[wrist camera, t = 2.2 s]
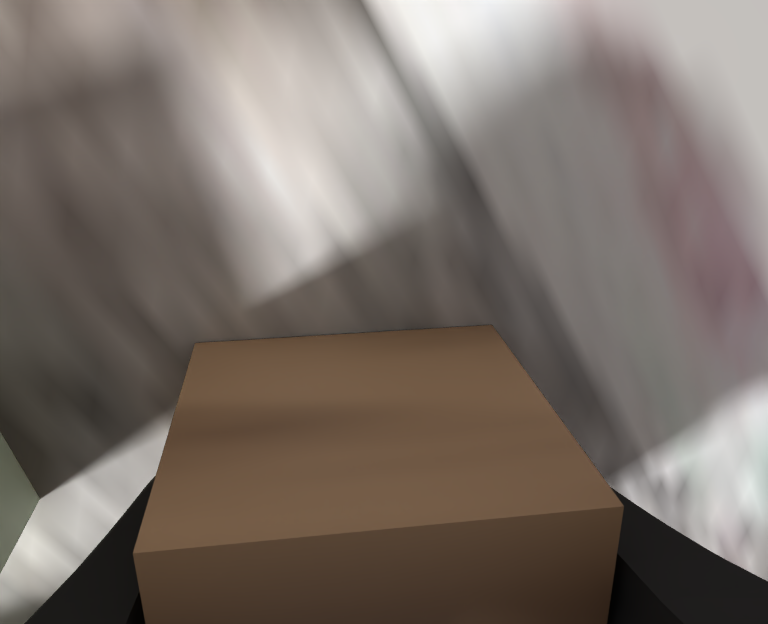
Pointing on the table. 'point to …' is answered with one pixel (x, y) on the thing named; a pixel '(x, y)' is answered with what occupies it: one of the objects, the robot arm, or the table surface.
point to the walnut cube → (373, 489)
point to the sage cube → (13, 501)
